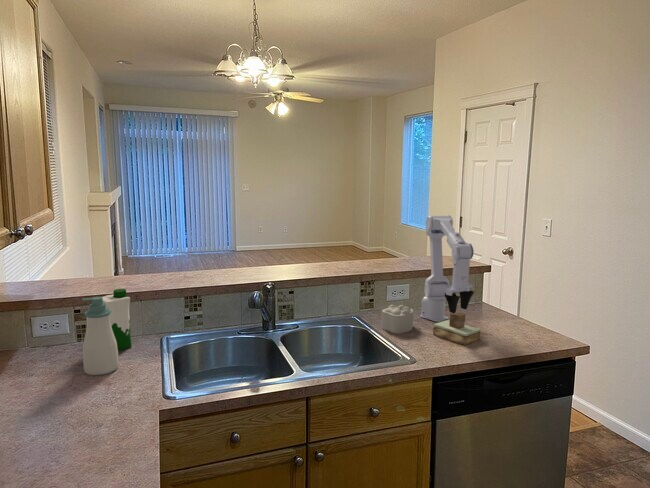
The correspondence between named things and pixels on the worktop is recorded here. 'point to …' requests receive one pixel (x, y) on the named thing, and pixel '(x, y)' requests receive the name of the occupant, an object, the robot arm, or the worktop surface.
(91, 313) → the soap bottle
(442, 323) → the lid
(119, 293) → the milk carton
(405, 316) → the lumpy-topped squat cylinder
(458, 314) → the walnut block
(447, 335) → the box
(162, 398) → the worktop surface
